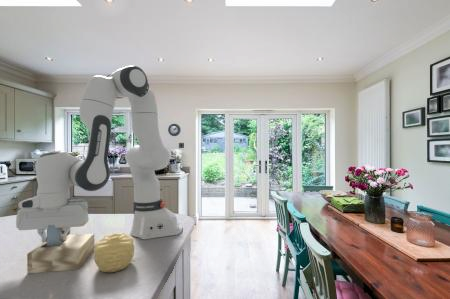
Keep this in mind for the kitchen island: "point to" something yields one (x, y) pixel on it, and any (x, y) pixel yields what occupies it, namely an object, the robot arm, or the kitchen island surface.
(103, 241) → the pale yellow rounded lump
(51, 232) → the pin
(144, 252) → the kitchen island surface
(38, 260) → the bore block
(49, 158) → the robot arm
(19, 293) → the kitchen island surface
